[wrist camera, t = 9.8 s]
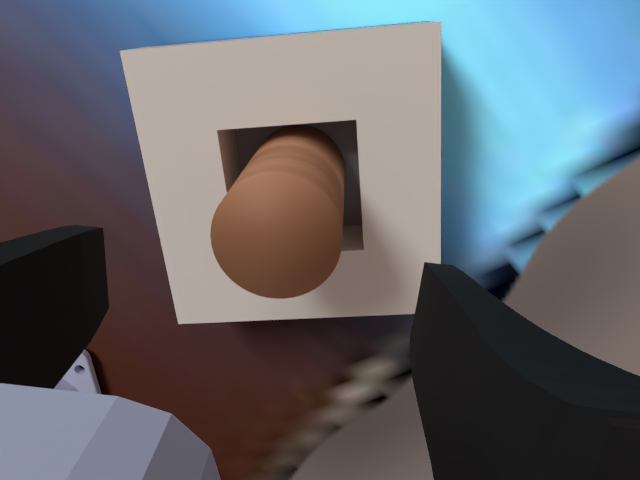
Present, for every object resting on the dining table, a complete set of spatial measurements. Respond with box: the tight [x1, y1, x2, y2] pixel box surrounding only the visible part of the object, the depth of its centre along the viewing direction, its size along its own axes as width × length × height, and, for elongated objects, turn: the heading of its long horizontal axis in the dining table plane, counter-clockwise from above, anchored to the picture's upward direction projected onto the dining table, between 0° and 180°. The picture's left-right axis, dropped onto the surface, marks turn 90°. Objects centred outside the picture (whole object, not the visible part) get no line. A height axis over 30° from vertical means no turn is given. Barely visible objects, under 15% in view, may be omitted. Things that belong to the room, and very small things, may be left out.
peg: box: [210, 125, 345, 299], centre depth 17 cm, size 4×4×7 cm
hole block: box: [120, 21, 441, 324], centre depth 20 cm, size 10×10×4 cm
